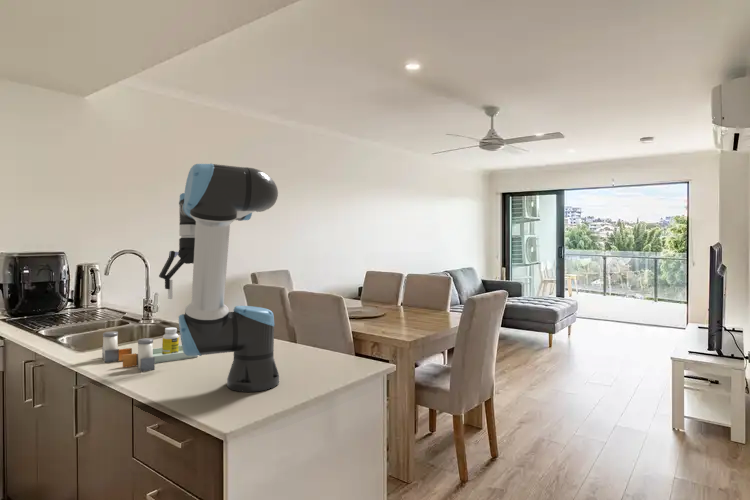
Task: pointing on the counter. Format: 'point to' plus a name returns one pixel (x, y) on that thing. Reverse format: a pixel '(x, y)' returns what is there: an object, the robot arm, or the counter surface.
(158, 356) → the tray
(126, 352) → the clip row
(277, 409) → the counter surface
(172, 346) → the supplement bottle
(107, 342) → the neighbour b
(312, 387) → the counter surface
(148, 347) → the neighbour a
